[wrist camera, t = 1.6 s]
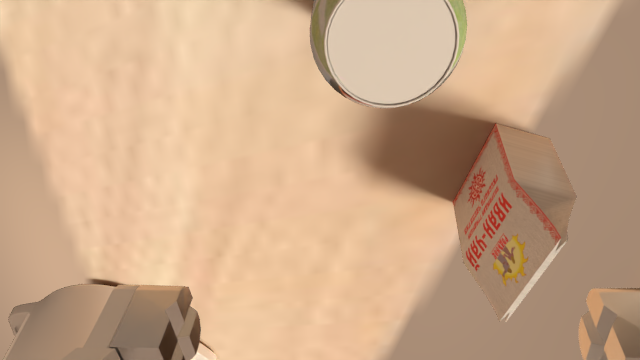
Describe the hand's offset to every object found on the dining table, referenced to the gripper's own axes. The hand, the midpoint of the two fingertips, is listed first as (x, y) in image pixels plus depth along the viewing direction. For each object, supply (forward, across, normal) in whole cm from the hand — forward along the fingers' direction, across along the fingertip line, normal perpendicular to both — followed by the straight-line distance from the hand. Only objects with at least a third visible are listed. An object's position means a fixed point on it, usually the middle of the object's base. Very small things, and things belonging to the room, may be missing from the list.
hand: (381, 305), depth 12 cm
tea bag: (+23, -8, +14) cm, 28 cm away
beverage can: (+23, 0, 0) cm, 23 cm away
